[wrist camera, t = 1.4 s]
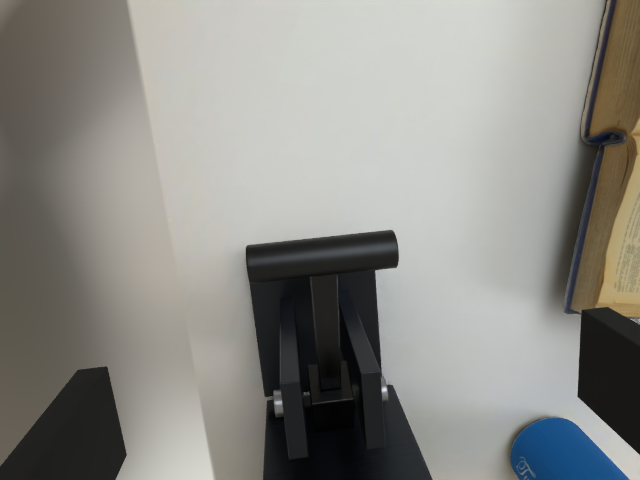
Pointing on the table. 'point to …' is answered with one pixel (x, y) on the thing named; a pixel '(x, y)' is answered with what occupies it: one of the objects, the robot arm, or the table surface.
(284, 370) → the lever bracket
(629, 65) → the book
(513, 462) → the beverage can
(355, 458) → the toaster
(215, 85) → the table surface
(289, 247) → the lever
